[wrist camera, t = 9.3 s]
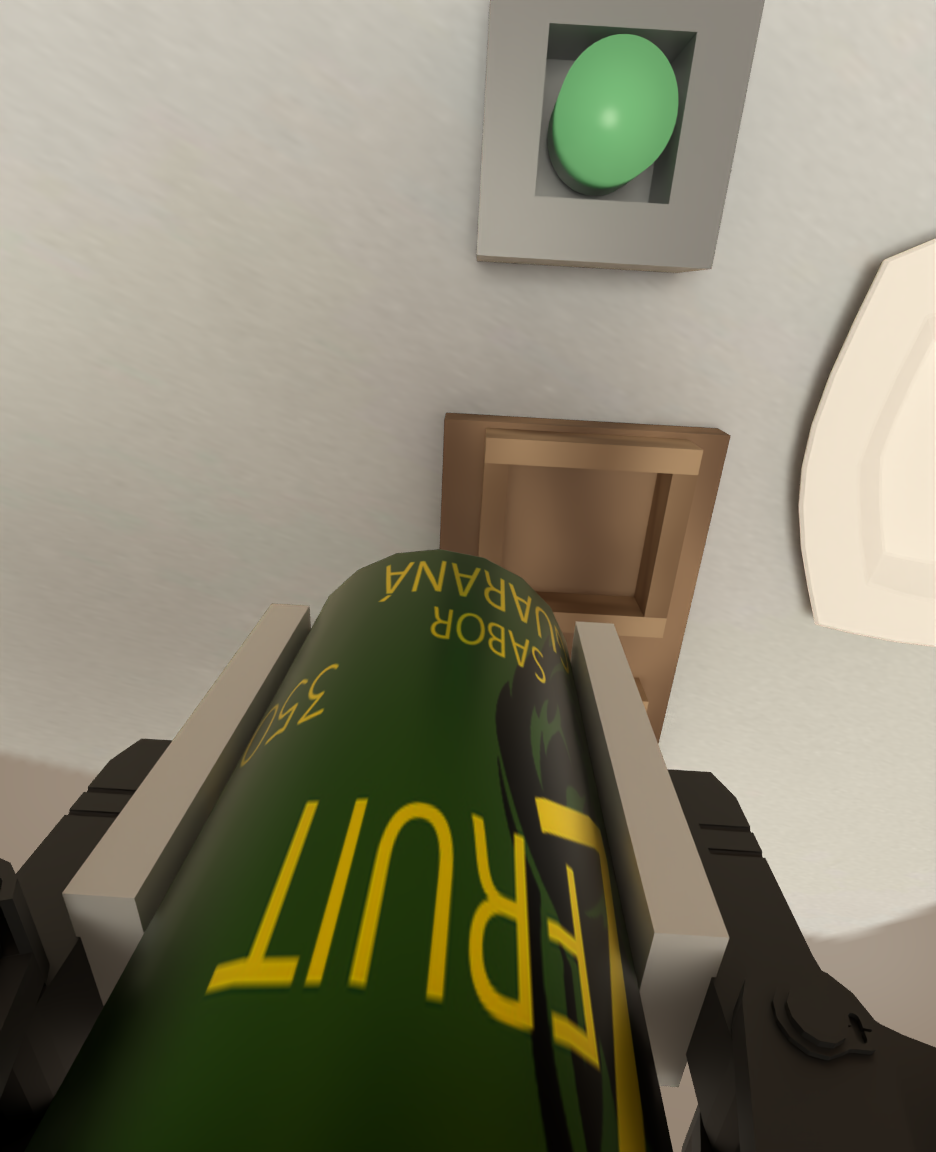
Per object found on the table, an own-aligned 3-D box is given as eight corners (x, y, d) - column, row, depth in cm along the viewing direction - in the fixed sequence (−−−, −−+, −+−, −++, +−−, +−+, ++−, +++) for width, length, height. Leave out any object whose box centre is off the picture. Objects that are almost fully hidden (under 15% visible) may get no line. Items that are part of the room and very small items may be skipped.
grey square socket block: (477, 261, 24) (476, 254, 21) (490, -1, 21) (493, -63, 17) (676, 272, 24) (711, 269, 21) (722, 13, 21) (773, -46, 17)
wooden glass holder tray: (432, 778, 36) (427, 825, 32) (446, 412, 27) (441, 428, 24) (636, 789, 36) (652, 837, 32) (717, 428, 27) (749, 446, 24)
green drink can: (510, 774, 15) (556, 2155, 4) (293, 706, 14) (-395, 2117, 3) (607, 586, 12) (1387, 2591, 2) (355, 497, 12) (-1165, 2711, 1)
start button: (542, 192, 22) (550, 177, 19) (553, 65, 20) (564, 30, 17) (642, 198, 22) (665, 185, 19) (661, 72, 20) (690, 37, 17)
